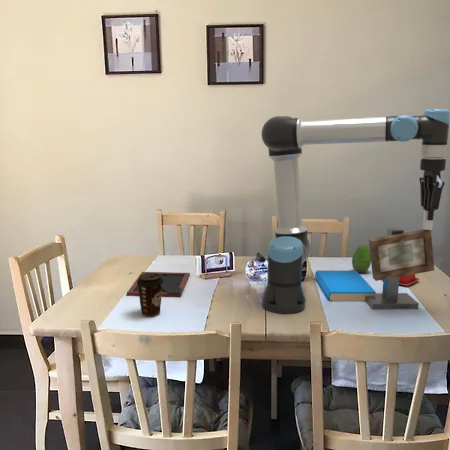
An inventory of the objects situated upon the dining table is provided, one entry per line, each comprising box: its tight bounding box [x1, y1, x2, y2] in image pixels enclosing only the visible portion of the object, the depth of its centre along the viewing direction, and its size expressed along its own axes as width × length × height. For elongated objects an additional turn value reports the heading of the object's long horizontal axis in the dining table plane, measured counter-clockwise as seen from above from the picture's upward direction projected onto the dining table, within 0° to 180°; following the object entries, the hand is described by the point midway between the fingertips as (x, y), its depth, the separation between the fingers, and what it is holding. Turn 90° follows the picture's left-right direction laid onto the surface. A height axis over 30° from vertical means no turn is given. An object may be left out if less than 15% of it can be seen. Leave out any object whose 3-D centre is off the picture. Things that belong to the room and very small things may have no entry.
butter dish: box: [399, 274, 420, 287], centre depth 191 cm, size 12×12×8 cm
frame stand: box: [364, 227, 420, 310], centre depth 165 cm, size 16×10×27 cm, turn 92°
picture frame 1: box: [126, 271, 191, 298], centre depth 185 cm, size 20×2×25 cm
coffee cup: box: [137, 273, 163, 318], centre depth 157 cm, size 9×8×13 cm
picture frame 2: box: [368, 228, 435, 282], centre depth 160 cm, size 20×4×14 cm, turn 92°
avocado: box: [351, 244, 371, 274], centre depth 202 cm, size 8×8×12 cm
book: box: [314, 270, 377, 302], centre depth 182 cm, size 17×4×25 cm
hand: (427, 229), depth 158 cm, fingers closed
